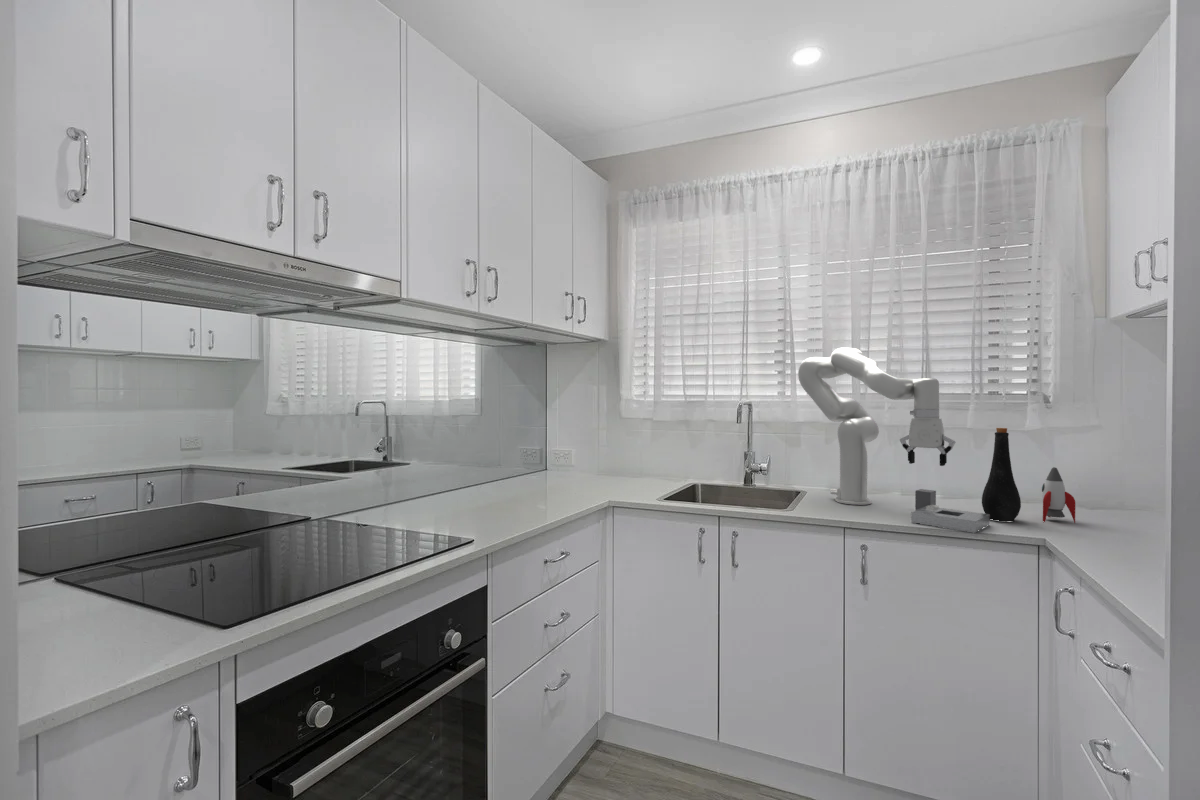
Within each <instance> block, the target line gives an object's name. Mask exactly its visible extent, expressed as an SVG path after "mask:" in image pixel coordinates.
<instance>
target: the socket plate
mask: <svg viewBox="0 0 1200 800" xmlns="http://www.w3.org/2000/svg"><path fill="white" fill-rule="evenodd" d="M910 516H911V517H910V523H911V522H912V523H911V524H916V523H920V524H919V525H922V524H927V525H926V526H928V525H932V526H931V527H935V526H938V527H937V528H941V527H944V528H943V529H947V528H949V529H948V530H953V529H955V530H954V531H960V530H961V531H960V532H966V531H967V533H972V534H973V533H974V534H976V533H978V532H979V531H978V530H980V529H982V528H983V527H986V526H987V525H989V524H990V522H991V520H990V514H985V513H982V512H974V511H968V510H960V509H952V508H945V507H940V506H939V505H937V504H936V505H928V506H926V507H923V508H921V509H918V510H913V511H911V513H910ZM990 525H991V524H990ZM986 528H987V527H986ZM982 530H983V529H982ZM977 531H978V532H977ZM980 531H981V530H980Z"/></svg>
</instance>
